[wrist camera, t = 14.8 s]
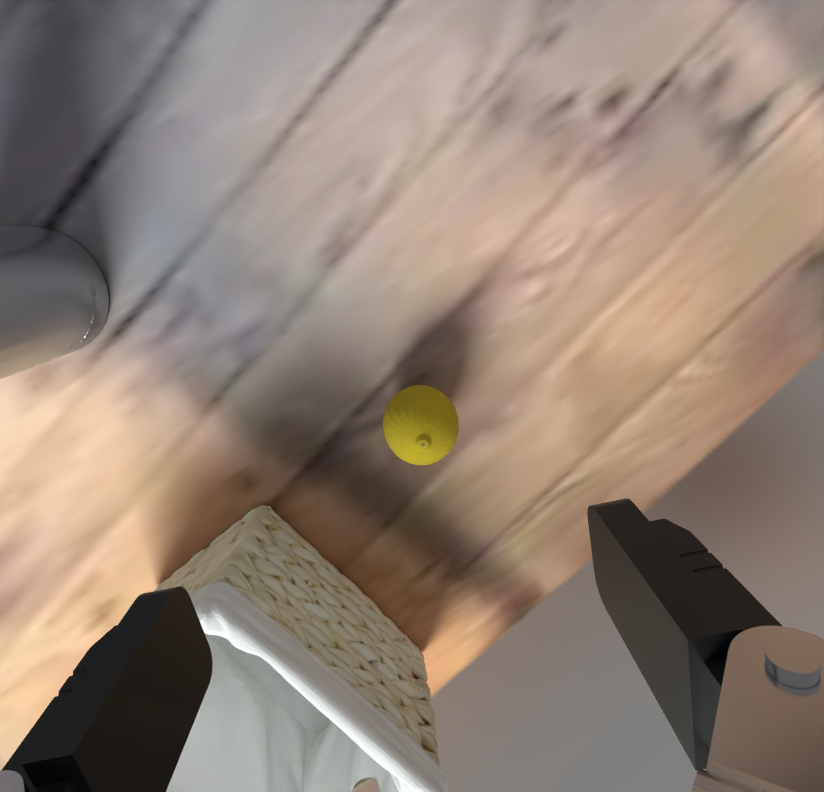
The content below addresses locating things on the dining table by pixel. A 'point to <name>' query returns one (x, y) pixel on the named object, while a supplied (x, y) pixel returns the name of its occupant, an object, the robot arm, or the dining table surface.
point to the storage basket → (300, 675)
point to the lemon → (420, 425)
